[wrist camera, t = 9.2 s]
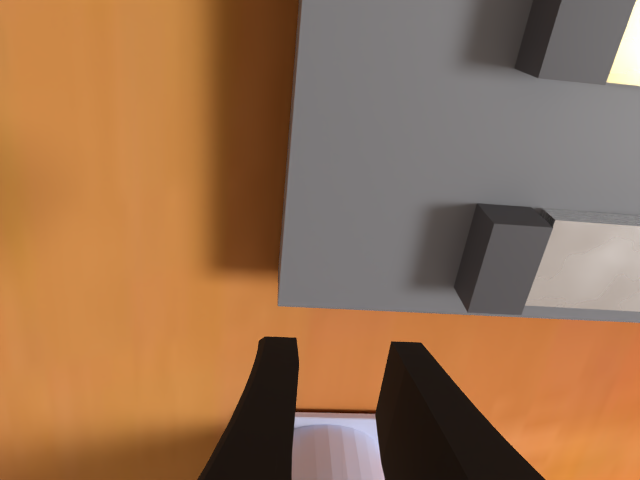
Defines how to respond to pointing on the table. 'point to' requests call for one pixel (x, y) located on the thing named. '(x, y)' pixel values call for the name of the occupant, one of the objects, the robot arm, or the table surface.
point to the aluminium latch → (589, 262)
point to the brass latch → (628, 53)
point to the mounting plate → (450, 150)
